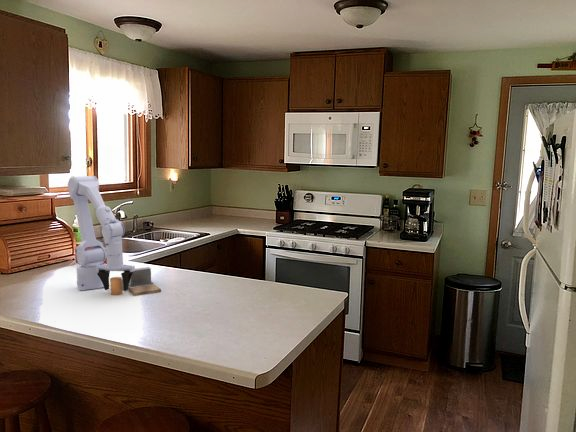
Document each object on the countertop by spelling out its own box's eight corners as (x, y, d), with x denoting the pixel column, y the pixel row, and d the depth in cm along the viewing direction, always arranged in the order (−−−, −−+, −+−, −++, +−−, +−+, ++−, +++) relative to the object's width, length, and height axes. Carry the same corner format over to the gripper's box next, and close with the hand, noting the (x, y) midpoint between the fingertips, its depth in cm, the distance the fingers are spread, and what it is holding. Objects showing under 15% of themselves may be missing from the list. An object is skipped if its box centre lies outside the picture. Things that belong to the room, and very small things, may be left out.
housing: (130, 287, 189) (129, 271, 189) (127, 284, 193) (127, 269, 192) (153, 283, 194) (152, 268, 193) (150, 281, 198) (149, 266, 197)
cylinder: (112, 295, 178) (111, 280, 177) (110, 293, 181) (109, 277, 180) (123, 294, 180) (122, 278, 179) (121, 291, 183) (120, 276, 182)
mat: (134, 295, 177) (133, 293, 177) (128, 290, 185) (128, 287, 185) (160, 291, 182) (160, 289, 182) (154, 286, 190) (154, 284, 190)
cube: (118, 291, 184) (118, 279, 183) (116, 288, 187) (116, 277, 187) (129, 289, 186) (129, 278, 185) (127, 287, 189) (126, 276, 189)
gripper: (137, 252, 181) (139, 287, 183) (101, 252, 183) (103, 286, 185) (129, 256, 174) (130, 292, 176) (92, 255, 176) (94, 291, 178)
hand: (116, 289), depth 180 cm, fingers open, 7 cm apart
